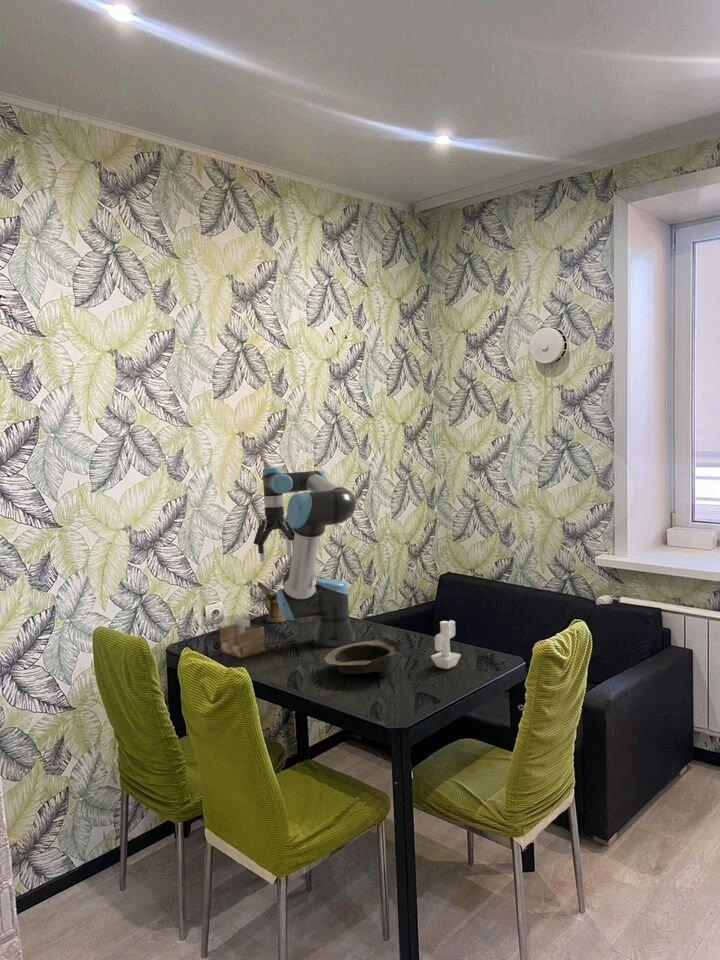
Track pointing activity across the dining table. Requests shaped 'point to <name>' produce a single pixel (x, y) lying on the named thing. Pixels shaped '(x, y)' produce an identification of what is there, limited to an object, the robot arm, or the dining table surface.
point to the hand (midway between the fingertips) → (277, 558)
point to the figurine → (445, 646)
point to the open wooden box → (242, 641)
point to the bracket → (240, 628)
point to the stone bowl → (365, 657)
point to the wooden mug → (271, 605)
